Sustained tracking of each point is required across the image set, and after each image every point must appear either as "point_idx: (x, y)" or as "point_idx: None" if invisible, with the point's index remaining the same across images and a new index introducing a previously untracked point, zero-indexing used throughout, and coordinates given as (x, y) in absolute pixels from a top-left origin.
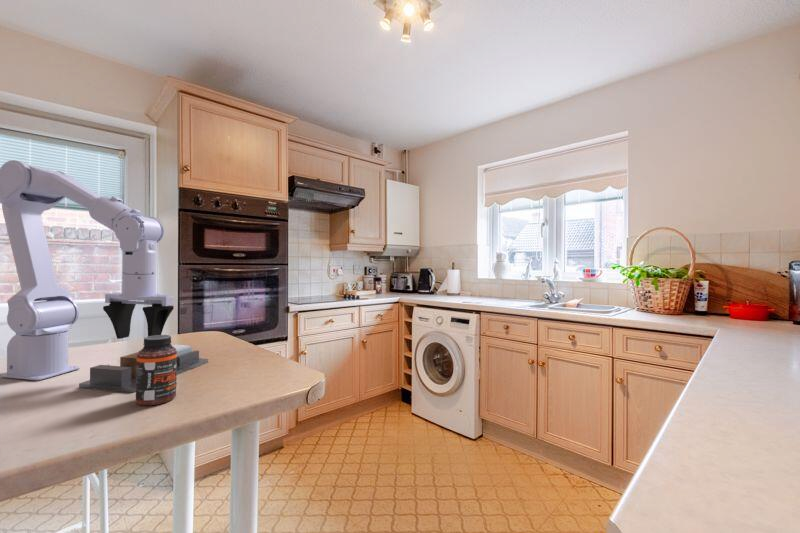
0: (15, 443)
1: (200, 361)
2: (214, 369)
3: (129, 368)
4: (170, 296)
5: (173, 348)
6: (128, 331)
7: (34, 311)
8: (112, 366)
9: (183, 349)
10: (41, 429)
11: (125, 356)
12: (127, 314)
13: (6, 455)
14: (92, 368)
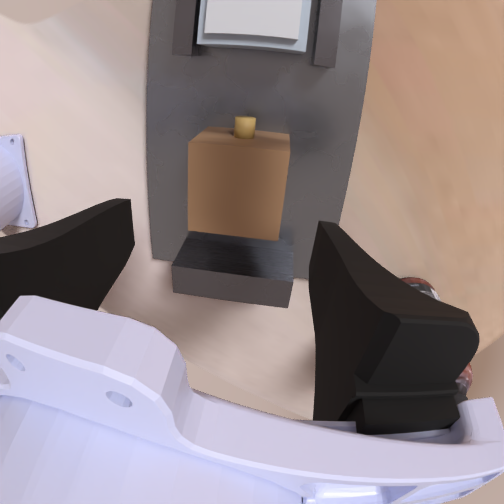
0: (291, 407)
1: (370, 5)
2: (446, 67)
3: (291, 285)
4: (491, 479)
5: (468, 385)
6: (118, 215)
7: None
8: (224, 278)
9: (310, 4)
10: (287, 388)
11: (199, 221)
12: (59, 276)
13: (308, 418)
14: (182, 292)
